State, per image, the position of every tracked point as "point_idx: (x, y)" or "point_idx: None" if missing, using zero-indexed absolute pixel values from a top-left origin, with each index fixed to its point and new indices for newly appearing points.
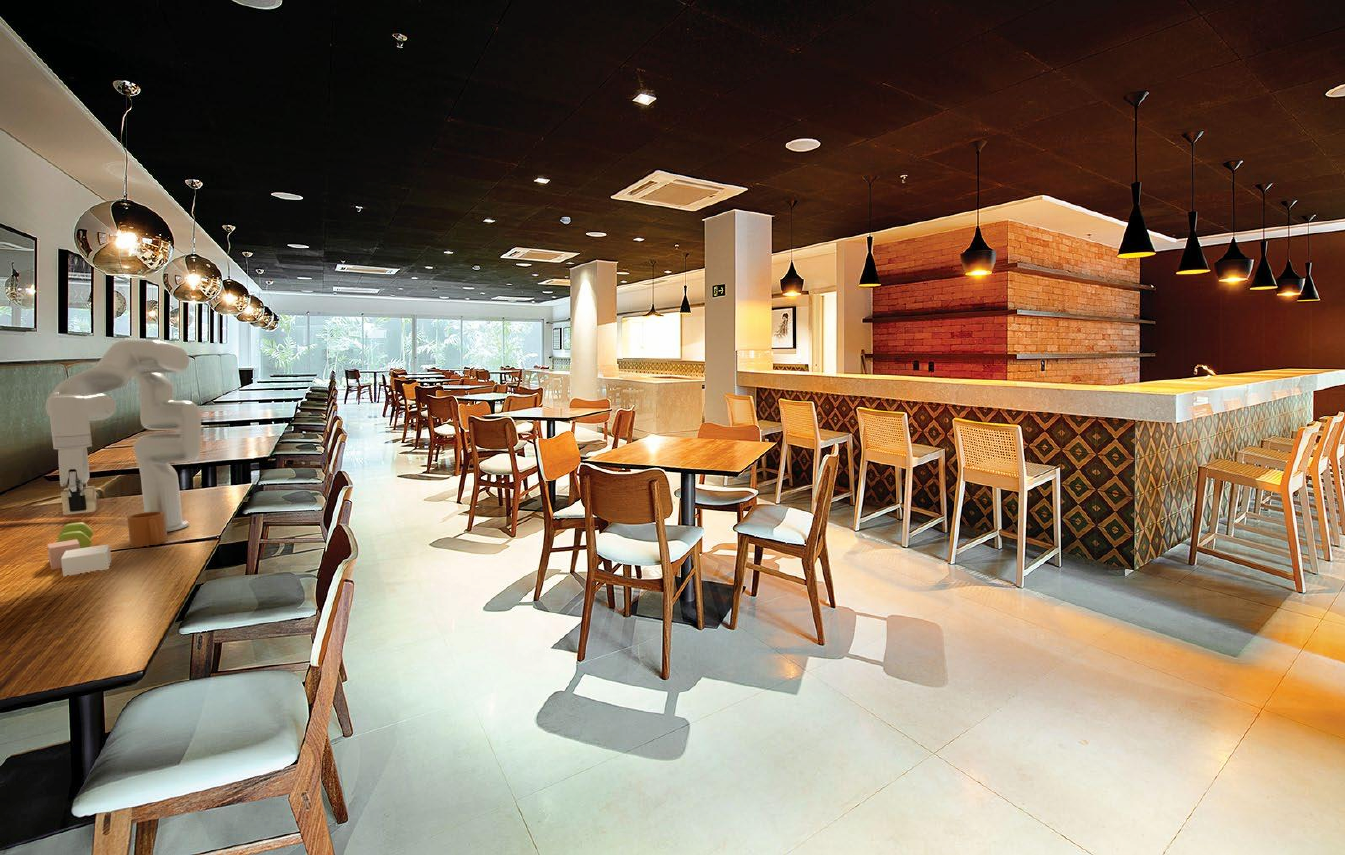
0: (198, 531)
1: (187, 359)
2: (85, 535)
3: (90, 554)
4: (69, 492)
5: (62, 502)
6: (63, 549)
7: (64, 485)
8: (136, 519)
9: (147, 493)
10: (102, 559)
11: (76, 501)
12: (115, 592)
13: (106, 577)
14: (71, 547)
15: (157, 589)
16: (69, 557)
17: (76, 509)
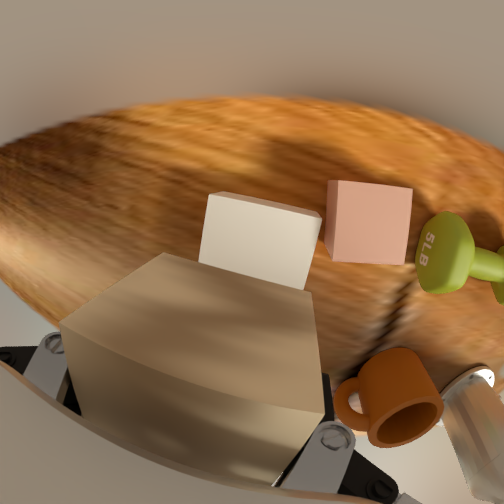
0: None
1: None
2: (439, 290)
3: (199, 261)
4: (37, 355)
5: (116, 284)
6: (334, 215)
7: (80, 417)
8: (388, 409)
9: (494, 439)
10: None
11: None
12: (54, 250)
13: (140, 259)
14: (333, 236)
15: (43, 292)
16: (208, 214)
17: None
